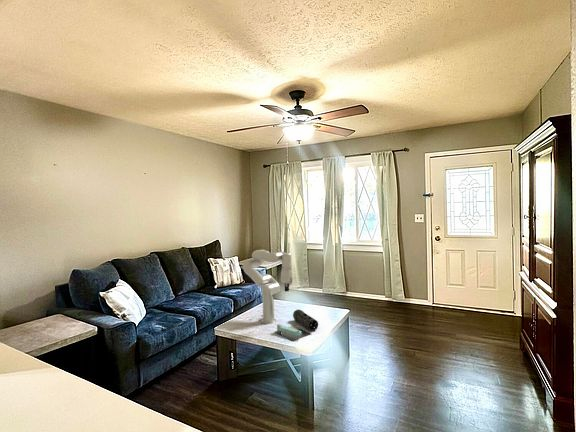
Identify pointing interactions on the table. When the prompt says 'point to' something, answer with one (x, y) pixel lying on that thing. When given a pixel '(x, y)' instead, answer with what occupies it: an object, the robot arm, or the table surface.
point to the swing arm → (288, 330)
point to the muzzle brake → (305, 320)
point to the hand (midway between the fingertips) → (286, 291)
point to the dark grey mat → (291, 336)
